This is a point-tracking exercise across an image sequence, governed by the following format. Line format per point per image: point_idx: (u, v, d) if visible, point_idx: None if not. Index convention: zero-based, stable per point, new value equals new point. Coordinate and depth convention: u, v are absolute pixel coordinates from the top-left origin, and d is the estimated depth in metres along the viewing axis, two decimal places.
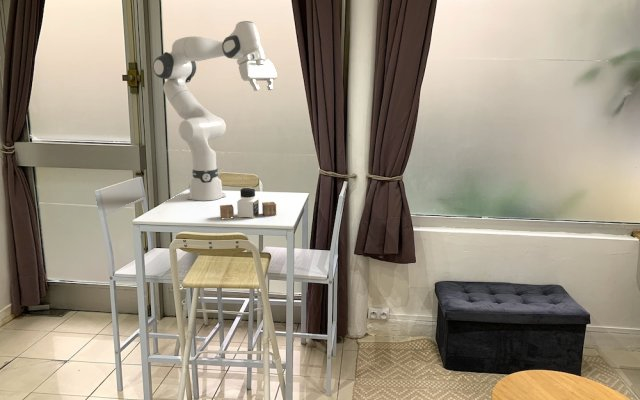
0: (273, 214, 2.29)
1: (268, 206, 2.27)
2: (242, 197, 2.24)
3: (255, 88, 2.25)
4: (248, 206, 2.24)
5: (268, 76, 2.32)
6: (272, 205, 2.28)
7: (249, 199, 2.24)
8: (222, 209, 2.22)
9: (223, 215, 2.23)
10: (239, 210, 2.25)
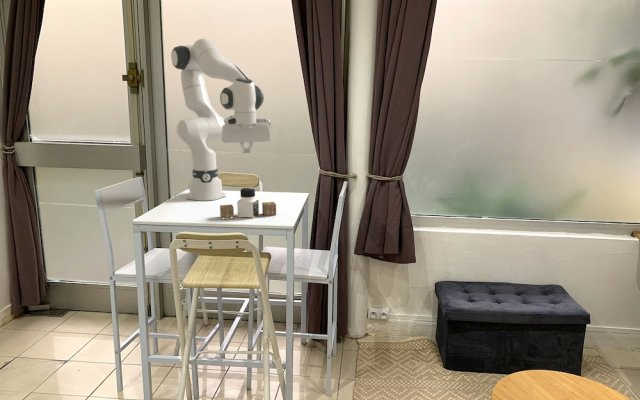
0: (273, 214, 2.29)
1: (268, 206, 2.27)
2: (242, 197, 2.24)
3: (243, 151, 2.22)
4: (248, 206, 2.24)
5: (255, 140, 2.20)
6: (272, 205, 2.28)
7: (249, 199, 2.24)
8: (222, 209, 2.22)
9: (223, 215, 2.23)
10: (239, 210, 2.25)
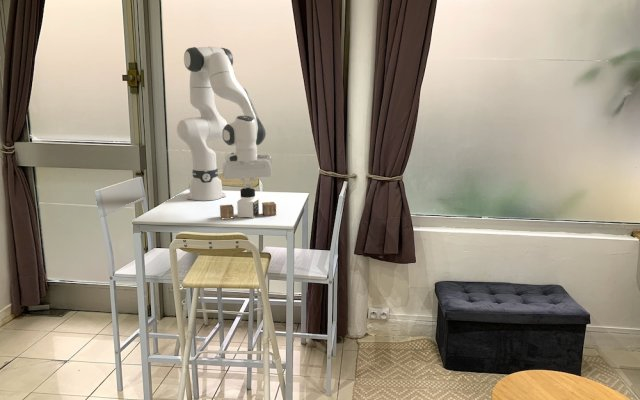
0: (273, 214, 2.29)
1: (268, 206, 2.27)
2: (242, 197, 2.24)
3: (244, 186, 2.25)
4: (248, 206, 2.24)
5: (256, 176, 2.24)
6: (272, 205, 2.28)
7: (249, 199, 2.24)
8: (222, 209, 2.22)
9: (223, 215, 2.23)
10: (239, 210, 2.25)
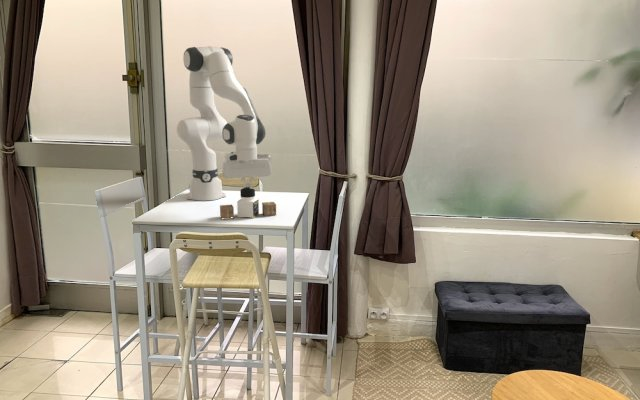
0: (273, 214, 2.29)
1: (268, 206, 2.27)
2: (242, 197, 2.24)
3: (244, 186, 2.25)
4: (248, 206, 2.24)
5: (256, 175, 2.24)
6: (272, 205, 2.28)
7: (249, 199, 2.24)
8: (222, 209, 2.22)
9: (223, 215, 2.23)
10: (239, 210, 2.25)
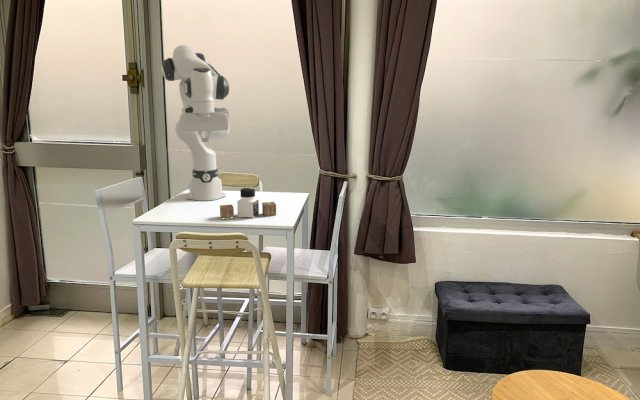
0: (273, 214, 2.29)
1: (268, 206, 2.27)
2: (242, 197, 2.24)
3: (201, 140, 2.24)
4: (248, 206, 2.24)
5: (213, 129, 2.22)
6: (272, 205, 2.28)
7: (249, 199, 2.24)
8: (222, 209, 2.22)
9: (223, 215, 2.23)
10: (239, 210, 2.25)
